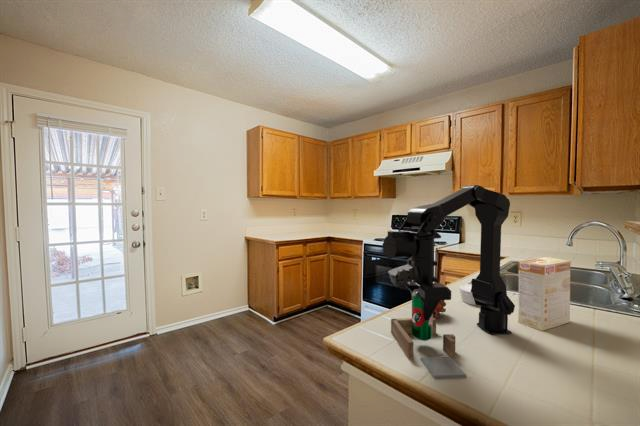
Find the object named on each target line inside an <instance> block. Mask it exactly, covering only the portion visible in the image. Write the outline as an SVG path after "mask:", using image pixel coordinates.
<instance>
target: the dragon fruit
mask: <svg viewBox="0 0 640 426" xmlns="http://www.w3.org/2000/svg"><path fill="white" fill-rule="evenodd" d="M446 306H447V302H446V301H445V300H441V301H440V302H439V304H438V305H437V307H436V308H435V310H434V312H433V318H435V319H436V318H437V317H439V316H440V313H446V310H447V309H446Z"/></svg>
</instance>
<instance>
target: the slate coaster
mask: <svg viewBox="0 0 640 426" xmlns="http://www.w3.org/2000/svg"><path fill="white" fill-rule="evenodd" d="M420 362H422V365H424V366H425V368H426V369H427V371H428V372H429V374H430V375H431V376H432V378H433V379H449V378H450V379H455V378H456V379H457V378H458V379H460V378H461V379H462V378H467V374H466V373H465V372H464V370H463V369H462V368H461V367H460V366H459V365H458V364H457V362H455V361H454V360H453V358H450V357H449V356H424V357H423V356H421V357H420Z"/></svg>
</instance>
